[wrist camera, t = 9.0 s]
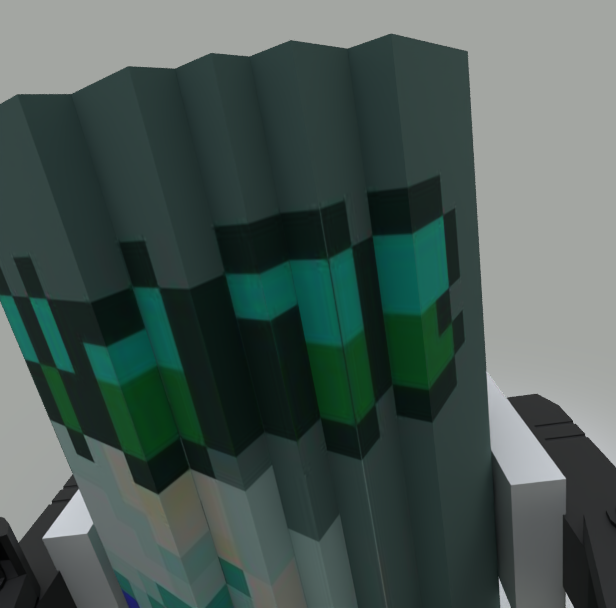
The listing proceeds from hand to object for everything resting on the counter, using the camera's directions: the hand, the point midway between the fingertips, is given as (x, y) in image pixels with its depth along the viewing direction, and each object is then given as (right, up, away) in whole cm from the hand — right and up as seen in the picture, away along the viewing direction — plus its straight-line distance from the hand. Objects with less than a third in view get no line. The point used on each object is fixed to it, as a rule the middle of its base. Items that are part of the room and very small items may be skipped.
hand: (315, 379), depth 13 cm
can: (+1, -9, -2) cm, 10 cm away
